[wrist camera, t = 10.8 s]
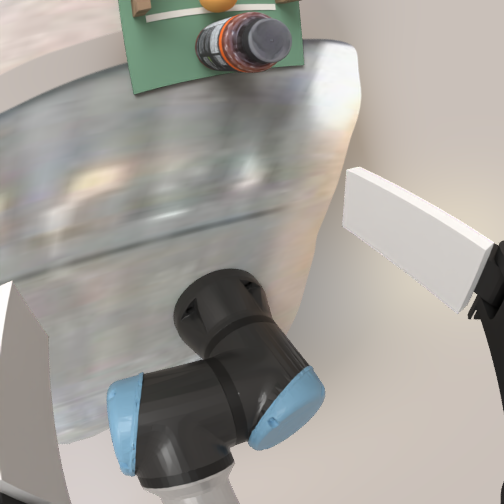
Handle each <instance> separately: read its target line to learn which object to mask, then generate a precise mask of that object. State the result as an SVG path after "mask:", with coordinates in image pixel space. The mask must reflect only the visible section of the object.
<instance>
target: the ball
mask: <svg viewBox="0 0 504 504" xmlns="http://www.w3.org/2000/svg"><path fill="white" fill-rule="evenodd" d="M199 1H200V4H201V5H202V6H203V7H204V8H205V9H206V10H208V11H211V12H215V13H220V12H225V11H227V10H229V9H231V8H232V7H233V6H234V5H235V4H236V2H237V0H199Z"/></svg>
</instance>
